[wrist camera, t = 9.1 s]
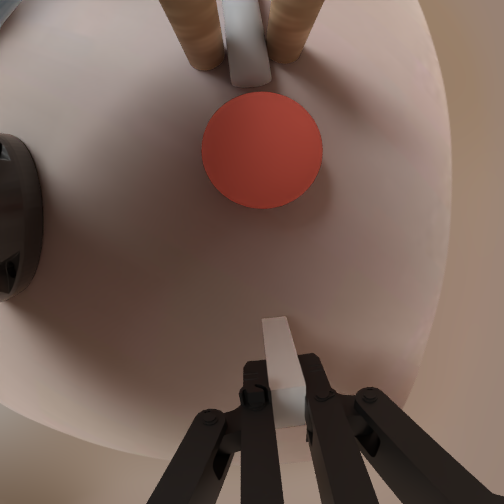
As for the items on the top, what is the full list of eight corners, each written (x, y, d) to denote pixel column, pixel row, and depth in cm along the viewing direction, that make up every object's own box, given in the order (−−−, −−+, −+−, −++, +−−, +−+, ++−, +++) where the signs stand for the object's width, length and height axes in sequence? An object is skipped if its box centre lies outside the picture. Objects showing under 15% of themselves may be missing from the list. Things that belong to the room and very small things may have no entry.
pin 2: (266, 64, 14) (281, -17, 6) (262, 36, 14) (272, -47, 6) (303, 63, 14) (341, -12, 6) (297, 36, 14) (327, -43, 6)
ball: (199, 99, 14) (213, 191, 17) (183, 101, 9) (208, 238, 12) (301, 89, 14) (306, 180, 17) (339, 90, 9) (339, 222, 12)
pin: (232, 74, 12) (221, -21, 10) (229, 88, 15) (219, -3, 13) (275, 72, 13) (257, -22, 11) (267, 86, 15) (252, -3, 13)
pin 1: (189, 73, 14) (149, 0, 6) (188, 45, 14) (153, -32, 6) (226, 67, 14) (211, -13, 6) (223, 39, 14) (209, -43, 6)
